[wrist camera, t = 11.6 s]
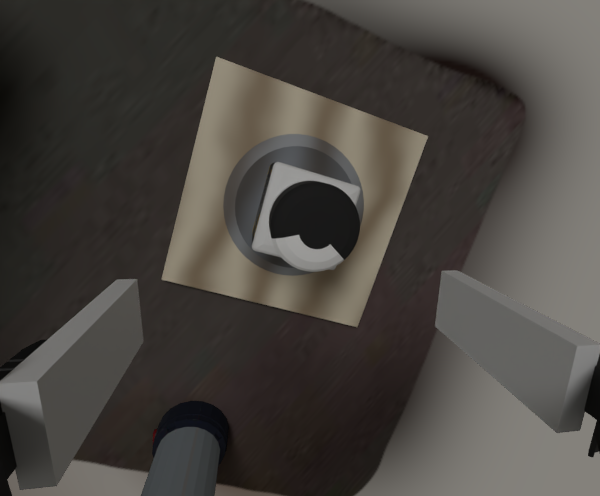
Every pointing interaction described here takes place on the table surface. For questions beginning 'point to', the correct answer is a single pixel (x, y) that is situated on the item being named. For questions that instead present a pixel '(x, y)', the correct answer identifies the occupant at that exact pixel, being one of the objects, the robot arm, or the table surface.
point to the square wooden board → (251, 180)
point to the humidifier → (187, 451)
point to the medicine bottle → (306, 218)
